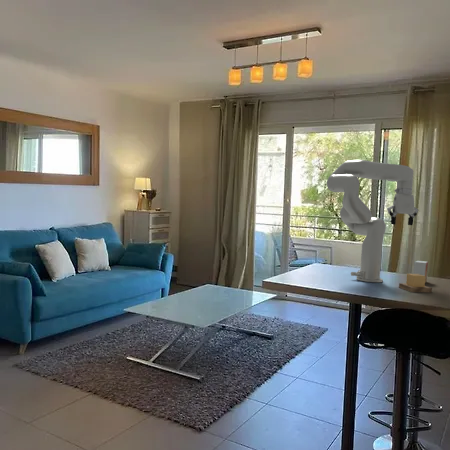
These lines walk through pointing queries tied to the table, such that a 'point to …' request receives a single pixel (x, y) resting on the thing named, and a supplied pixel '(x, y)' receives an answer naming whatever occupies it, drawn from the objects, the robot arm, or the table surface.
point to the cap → (415, 280)
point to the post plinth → (414, 288)
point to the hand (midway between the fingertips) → (401, 224)
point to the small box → (421, 268)
